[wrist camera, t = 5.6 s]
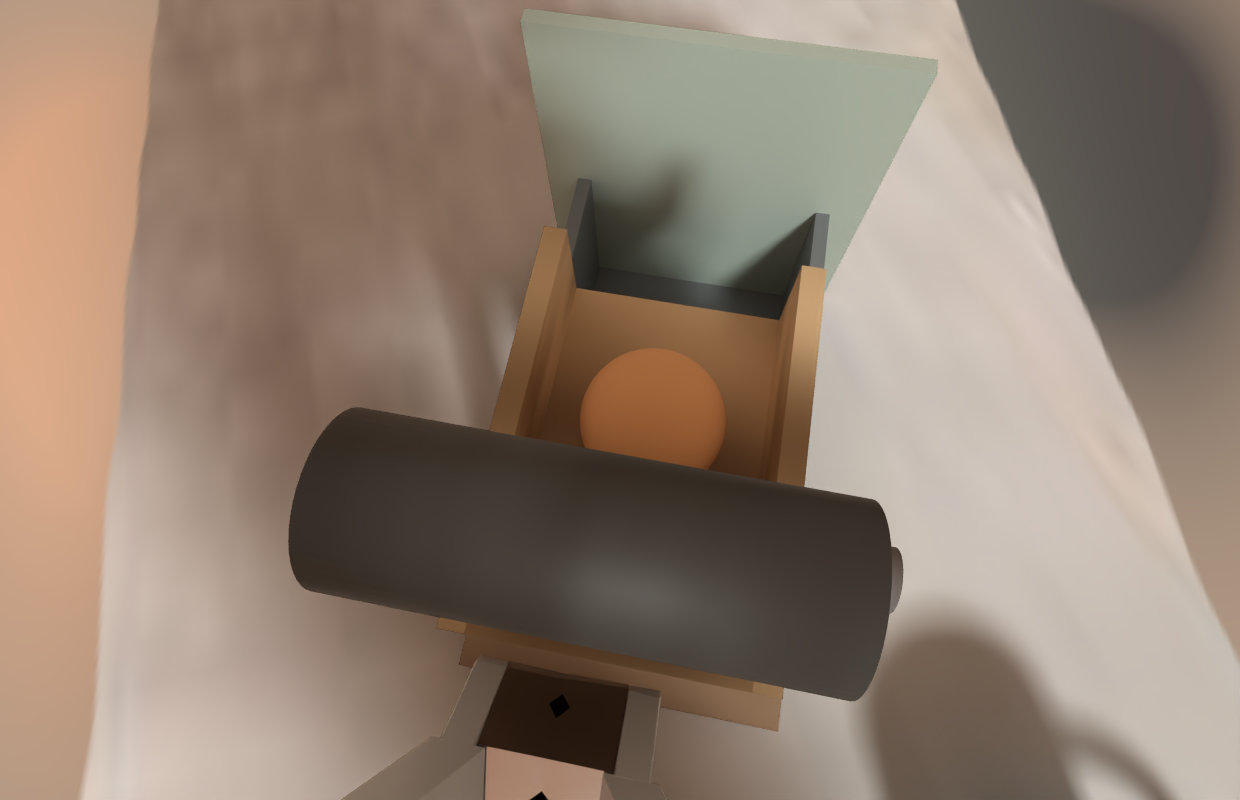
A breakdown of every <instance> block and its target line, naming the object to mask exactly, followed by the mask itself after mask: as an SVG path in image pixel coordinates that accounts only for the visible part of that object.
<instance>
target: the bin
mask: <svg viewBox="0 0 1240 800" xmlns="http://www.w3.org/2000/svg"><path fill="white" fill-rule="evenodd" d="M520 22H521V28H522V33H523V39H524V44H525V50H526V56H527V61H528V67H529V72H530V78H531V83H532V89H533V94H534V100H535V105H536V111H537V116H538V122H539V127H540V133H541V138H542V144H543V149H544V155H545V160H546V166H547V171H548V177H549V182H550V188H551V193H552V199H553V204H554V210H555V216H556V221H557V227H558V228H560V229H567V232H568V238H569V245H570V251H571V257H572V263H573V270H574V276H575V282H576V288H580V289H586V290H592V291H598V292H605V293H611V294H617V295H624V296H630V297H636V298H642V299H649V300H655V301H661V302H667V303H674V304H680V305H686V306H693V307H699V308H705V309H711V310H718V311H724V312H730V313H737V314H743V315H749V316H755V317H762V318H768V319H774V320H779V319H780V317H781V315H782V312H783V310H784V307H785V305H786V303H787V300H788V298H789V296H790V293H791V291H792V288H793V286H794V284H795V281H796V279H797V277H798V274H799V272H800V270H801V267H802V265H803V266H810V267H817V268H823V269H827V270H826V279H825V289H824V293H825V291H826V289H827V287H828V285H829V283H830V281H831V279H832V277H833V275H834V273H835V271H836V270H837V268H838V266H839V264H840V262H841V260H842V258H843V256H844V254H845V252H846V250H847V248H848V246H849V244H850V242H851V240H852V238H853V237H854V235H855V233H856V231H857V229H858V227H859V225H860V223H861V221H862V219H863V217H864V215H865V213H866V211H867V209H868V207H869V205H870V204H871V202H872V200H873V198H874V196H875V194H876V192H877V190H878V188H879V186H880V184H881V182H882V180H883V178H884V176H885V174H886V172H887V170H888V169H889V167H890V165H891V163H892V161H893V159H894V157H895V155H896V153H897V151H898V149H899V147H900V145H901V143H902V141H903V139H904V137H905V136H906V134H907V132H908V130H909V128H910V126H911V124H912V122H913V120H914V118H915V116H916V114H917V112H918V110H919V108H920V106H921V104H922V102H923V101H924V99H925V97H926V95H927V93H928V91H929V89H930V87H931V85H932V83H933V81H934V79H935V77H936V75H937V68H938V60H935V59H927V58H919V57H911V56H903V55H895V54H887V53H879V52H871V51H863V50H855V49H847V48H839V47H831V46H823V45H815V44H807V43H799V42H791V41H783V40H775V39H767V38H759V37H751V36H743V35H735V34H727V33H719V32H711V31H703V30H695V29H687V28H679V27H671V26H663V25H655V24H647V23H639V22H631V21H623V20H615V19H607V18H599V17H591V16H583V15H575V14H567V13H559V12H551V11H543V10H535V9H527V8H524V11H523V14H522V17H521V20H520Z"/></svg>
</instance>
